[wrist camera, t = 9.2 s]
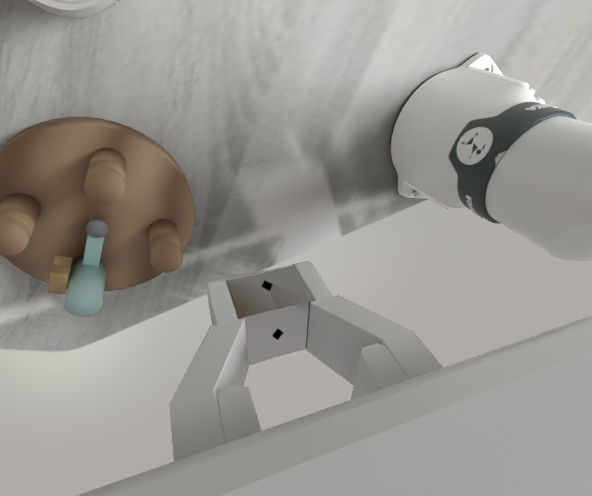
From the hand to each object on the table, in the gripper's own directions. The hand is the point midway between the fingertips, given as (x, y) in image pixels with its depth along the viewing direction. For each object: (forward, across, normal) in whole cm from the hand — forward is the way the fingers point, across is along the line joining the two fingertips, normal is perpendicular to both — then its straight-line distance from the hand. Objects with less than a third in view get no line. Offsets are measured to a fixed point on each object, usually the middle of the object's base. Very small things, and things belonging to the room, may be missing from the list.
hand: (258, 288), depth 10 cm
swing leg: (+26, +10, +14) cm, 32 cm away
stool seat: (+29, +9, +11) cm, 32 cm away
